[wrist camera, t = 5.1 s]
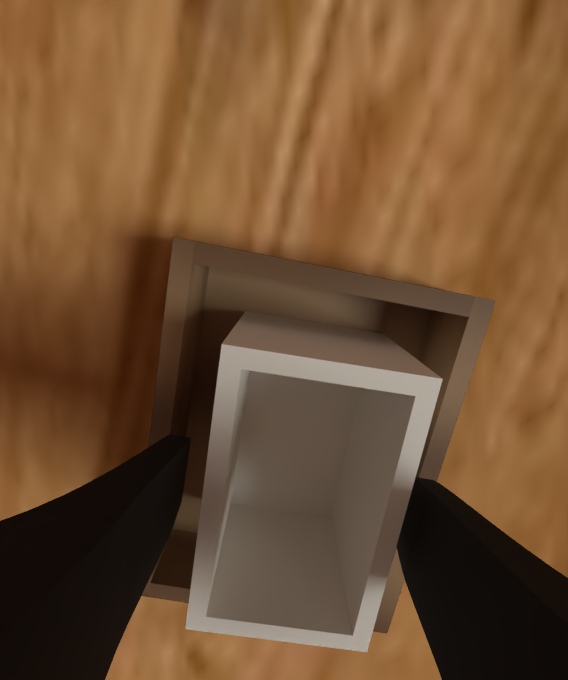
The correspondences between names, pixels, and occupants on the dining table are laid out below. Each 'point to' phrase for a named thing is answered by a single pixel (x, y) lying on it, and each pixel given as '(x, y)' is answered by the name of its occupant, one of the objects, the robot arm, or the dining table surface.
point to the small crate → (306, 480)
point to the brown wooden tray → (303, 304)
